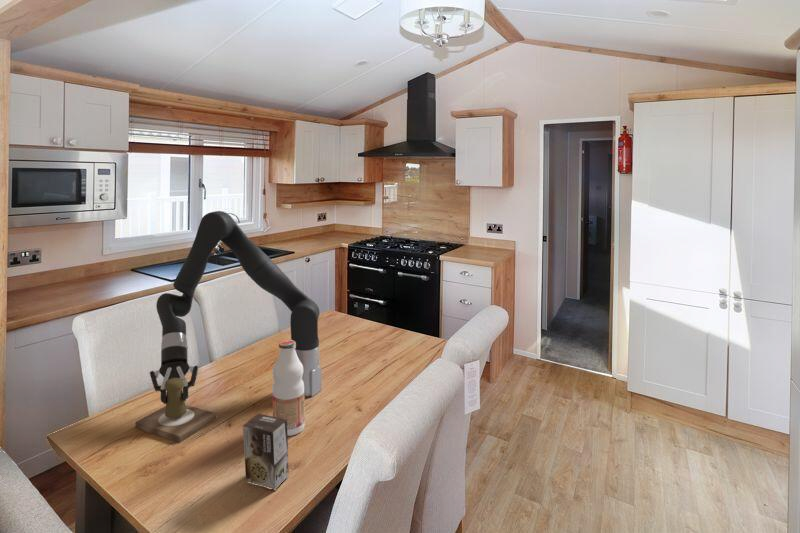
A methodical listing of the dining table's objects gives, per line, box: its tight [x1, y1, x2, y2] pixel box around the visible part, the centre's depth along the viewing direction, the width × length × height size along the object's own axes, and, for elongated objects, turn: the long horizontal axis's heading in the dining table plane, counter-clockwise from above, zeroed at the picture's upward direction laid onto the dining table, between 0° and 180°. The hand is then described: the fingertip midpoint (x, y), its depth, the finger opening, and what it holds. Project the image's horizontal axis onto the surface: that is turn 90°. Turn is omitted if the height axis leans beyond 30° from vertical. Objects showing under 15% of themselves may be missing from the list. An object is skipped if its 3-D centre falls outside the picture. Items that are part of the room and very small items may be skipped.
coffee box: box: [242, 413, 290, 489], centre depth 113 cm, size 9×6×16 cm
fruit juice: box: [271, 339, 306, 437], centre depth 135 cm, size 9×9×28 cm
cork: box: [164, 378, 187, 418], centre depth 137 cm, size 6×6×11 cm
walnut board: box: [134, 404, 217, 443], centre depth 139 cm, size 18×14×2 cm
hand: (174, 401), depth 136 cm, fingers closed on cork, 4 cm apart
